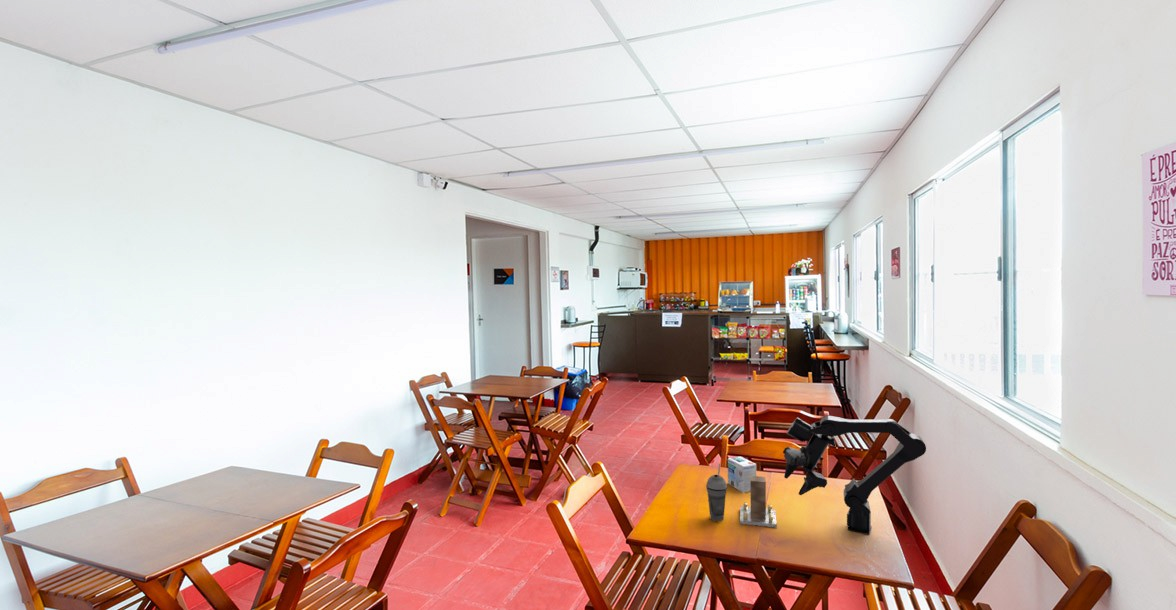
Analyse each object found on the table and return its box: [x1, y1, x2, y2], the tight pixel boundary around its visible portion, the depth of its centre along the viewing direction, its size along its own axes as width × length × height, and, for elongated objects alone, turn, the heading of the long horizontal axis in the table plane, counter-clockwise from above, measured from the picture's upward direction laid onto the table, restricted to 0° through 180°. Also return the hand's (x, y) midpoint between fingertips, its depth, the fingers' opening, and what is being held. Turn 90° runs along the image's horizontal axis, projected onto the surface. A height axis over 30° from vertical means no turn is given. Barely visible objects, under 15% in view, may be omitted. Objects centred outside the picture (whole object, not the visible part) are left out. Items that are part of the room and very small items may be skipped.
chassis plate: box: [739, 502, 778, 528], centre depth 188 cm, size 12×12×3 cm
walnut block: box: [749, 475, 767, 519], centre depth 188 cm, size 5×5×13 cm
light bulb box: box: [727, 456, 757, 493], centre depth 216 cm, size 11×7×11 cm, turn 21°
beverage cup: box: [706, 463, 728, 522], centre depth 188 cm, size 7×7×20 cm
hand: (792, 486), depth 187 cm, fingers open, 9 cm apart
